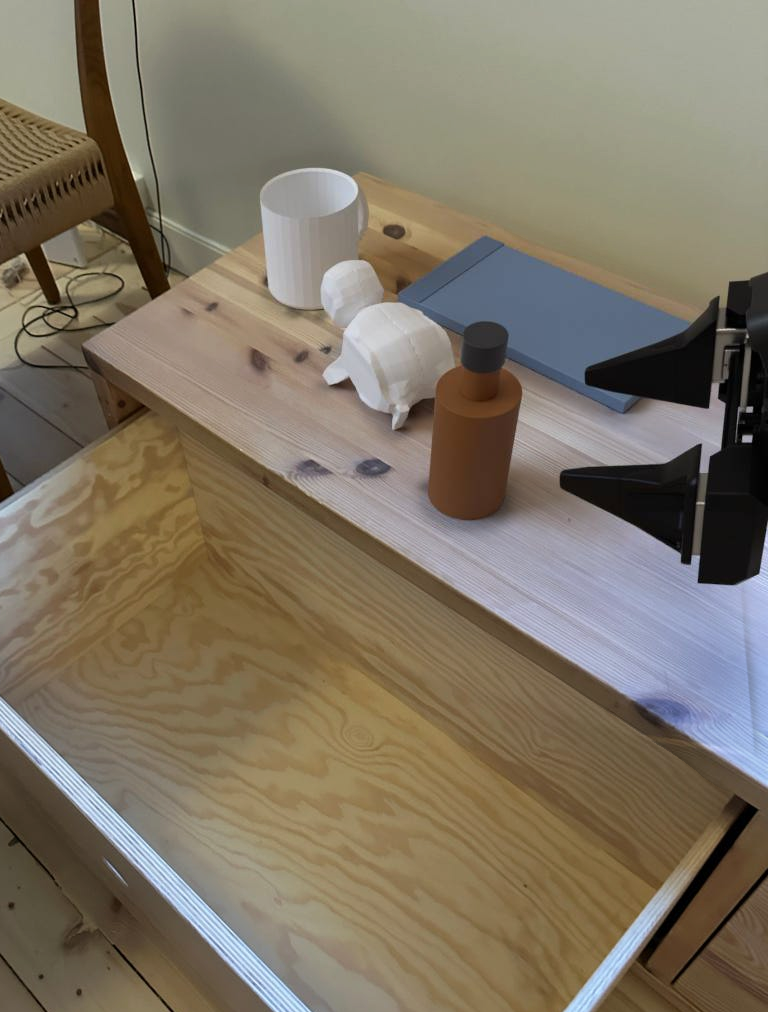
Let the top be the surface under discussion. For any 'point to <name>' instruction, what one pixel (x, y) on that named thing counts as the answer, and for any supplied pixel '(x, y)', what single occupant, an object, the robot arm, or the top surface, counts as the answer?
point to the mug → (309, 231)
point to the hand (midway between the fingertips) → (573, 425)
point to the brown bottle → (474, 426)
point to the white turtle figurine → (382, 342)
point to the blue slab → (541, 313)
